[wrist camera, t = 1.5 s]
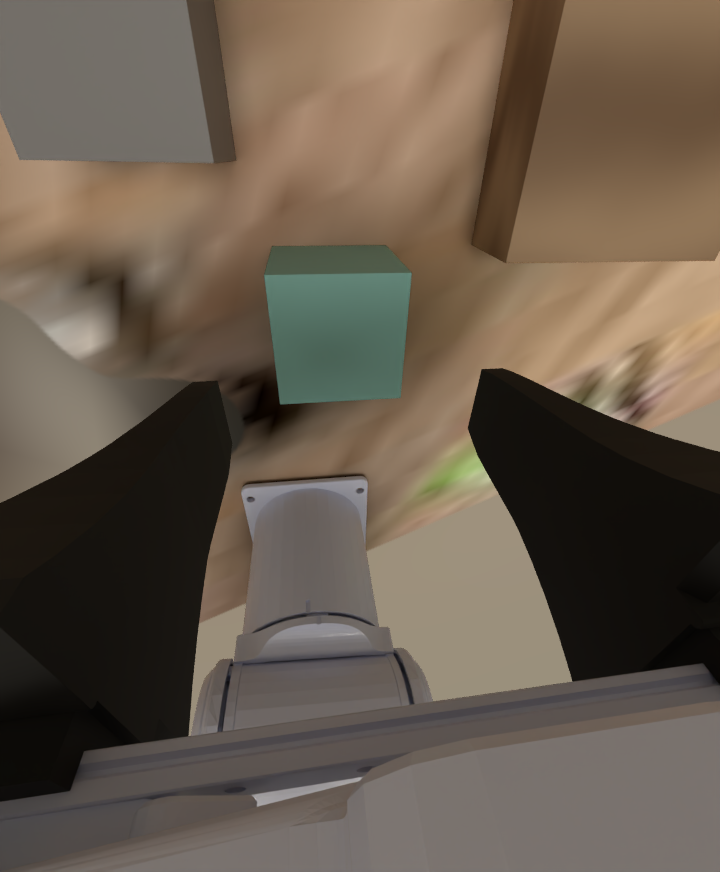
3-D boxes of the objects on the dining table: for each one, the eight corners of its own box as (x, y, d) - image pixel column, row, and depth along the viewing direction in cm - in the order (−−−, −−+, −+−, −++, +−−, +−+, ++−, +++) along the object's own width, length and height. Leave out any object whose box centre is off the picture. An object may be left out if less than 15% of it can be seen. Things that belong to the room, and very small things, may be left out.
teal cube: (380, 349, 20) (400, 397, 16) (283, 353, 20) (280, 404, 16) (385, 244, 17) (411, 272, 13) (272, 245, 17) (263, 275, 13)
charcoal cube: (236, 160, 15) (213, 163, 11) (97, 157, 14) (19, 159, 10) (208, -39, 12) (163, -137, 8) (31, -53, 11) (-115, -166, 7)
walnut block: (644, 242, 19) (714, 260, 16) (468, 243, 18) (505, 263, 15) (760, -39, 14) (902, -98, 10) (520, -61, 13) (595, -132, 9)
